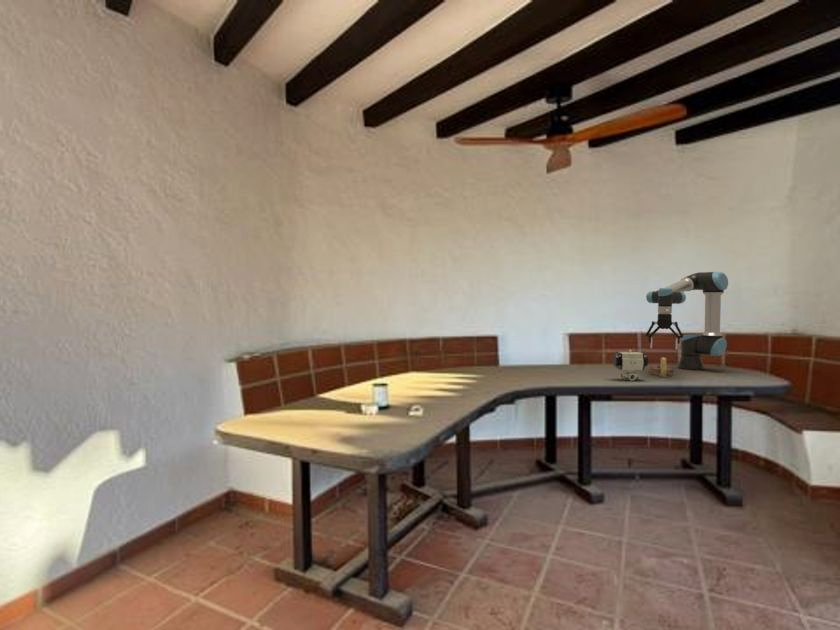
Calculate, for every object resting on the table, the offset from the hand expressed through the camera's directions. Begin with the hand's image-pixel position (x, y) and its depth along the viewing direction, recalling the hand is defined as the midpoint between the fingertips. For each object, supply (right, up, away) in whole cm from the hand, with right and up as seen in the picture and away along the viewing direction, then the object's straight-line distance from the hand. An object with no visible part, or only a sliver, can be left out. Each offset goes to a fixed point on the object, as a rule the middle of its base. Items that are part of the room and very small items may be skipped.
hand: (663, 348), depth 289 cm
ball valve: (-24, -18, -7) cm, 31 cm away
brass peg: (0, -18, +1) cm, 18 cm away
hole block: (+6, -17, +14) cm, 23 cm away
